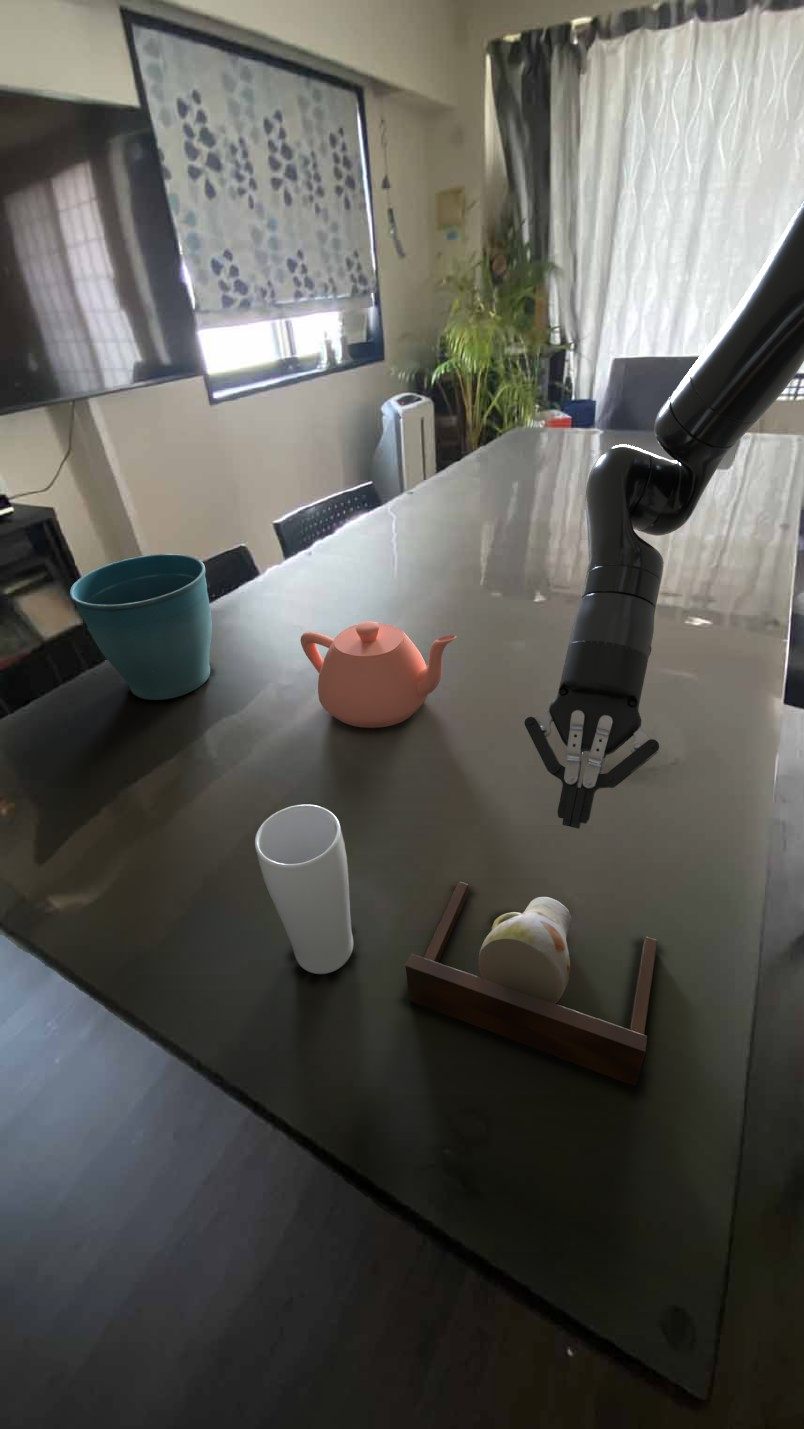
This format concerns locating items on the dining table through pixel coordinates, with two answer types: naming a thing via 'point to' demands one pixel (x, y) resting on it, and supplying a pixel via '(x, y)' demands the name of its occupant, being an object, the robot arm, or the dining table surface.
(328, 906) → the drinking glass
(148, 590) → the flower pot
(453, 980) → the walnut rack
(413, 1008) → the dining table surface
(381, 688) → the teapot
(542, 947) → the mug
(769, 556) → the dining table surface
